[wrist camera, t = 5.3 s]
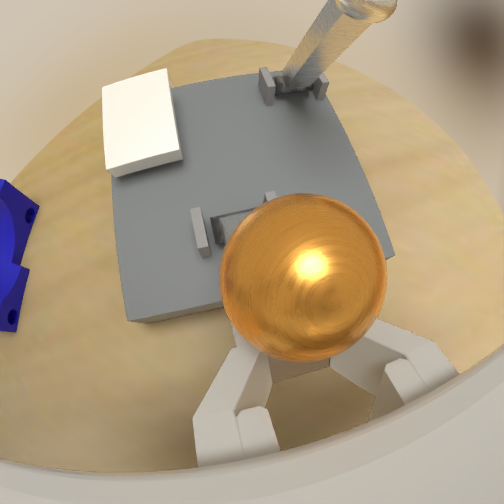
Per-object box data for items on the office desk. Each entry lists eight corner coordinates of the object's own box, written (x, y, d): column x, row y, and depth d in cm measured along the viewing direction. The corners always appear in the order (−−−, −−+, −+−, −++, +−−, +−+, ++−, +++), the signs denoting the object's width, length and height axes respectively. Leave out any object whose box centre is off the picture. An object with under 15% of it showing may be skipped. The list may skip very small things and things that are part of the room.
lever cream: (276, 104, 22) (361, -2, 7) (268, 73, 22) (336, -49, 7) (311, 101, 22) (419, 10, 8) (302, 70, 22) (393, -36, 7)
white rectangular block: (115, 177, 19) (106, 169, 17) (109, 98, 19) (102, 87, 17) (182, 159, 20) (179, 149, 18) (170, 81, 20) (166, 68, 18)
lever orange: (218, 252, 19) (249, 418, 4) (207, 205, 18) (196, 217, 3) (264, 242, 19) (420, 358, 4) (255, 195, 18) (412, 176, 4)
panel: (146, 323, 21) (113, 319, 15) (125, 131, 25) (104, 88, 19) (372, 267, 23) (410, 246, 17) (304, 97, 27) (315, 51, 21)
